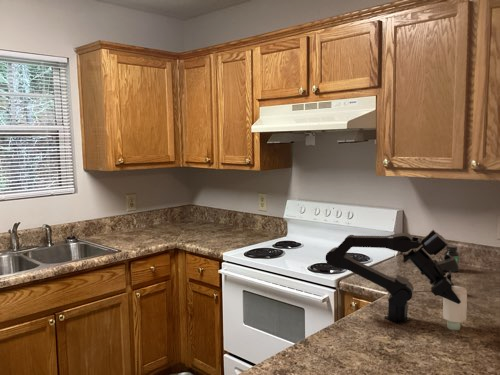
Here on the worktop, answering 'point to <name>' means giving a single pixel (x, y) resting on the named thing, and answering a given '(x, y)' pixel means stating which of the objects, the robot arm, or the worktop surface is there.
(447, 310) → the tumbler
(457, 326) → the pale green rounded knob
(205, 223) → the worktop surface
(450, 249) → the supplement bottle
